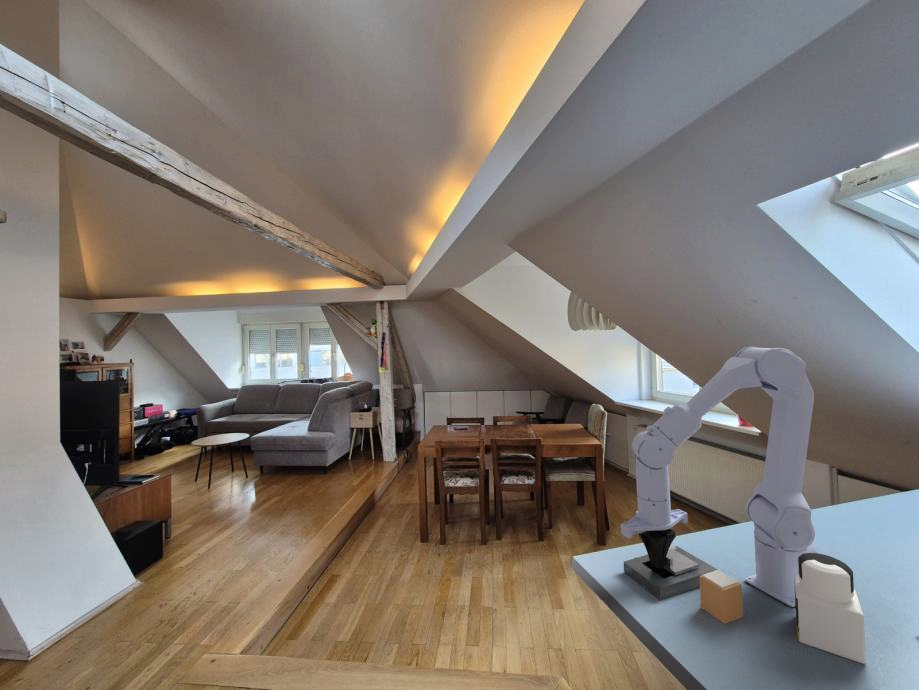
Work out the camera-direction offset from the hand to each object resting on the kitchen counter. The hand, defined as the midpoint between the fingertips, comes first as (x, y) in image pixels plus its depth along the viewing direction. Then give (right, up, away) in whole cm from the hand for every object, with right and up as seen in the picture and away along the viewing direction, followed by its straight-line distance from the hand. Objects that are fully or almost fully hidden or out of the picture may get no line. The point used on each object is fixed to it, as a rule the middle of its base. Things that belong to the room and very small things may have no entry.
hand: (657, 565), depth 74 cm
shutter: (+4, 0, +1) cm, 4 cm away
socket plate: (+3, -3, +1) cm, 4 cm away
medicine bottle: (+18, -2, -16) cm, 24 cm away
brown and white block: (+6, -3, -9) cm, 11 cm away
